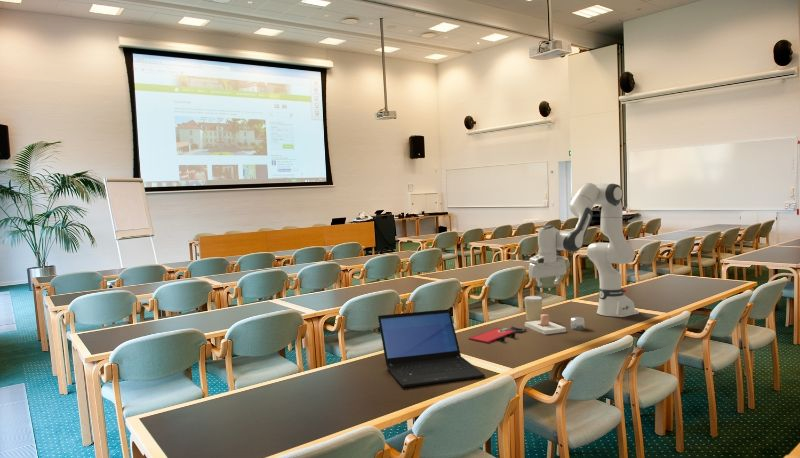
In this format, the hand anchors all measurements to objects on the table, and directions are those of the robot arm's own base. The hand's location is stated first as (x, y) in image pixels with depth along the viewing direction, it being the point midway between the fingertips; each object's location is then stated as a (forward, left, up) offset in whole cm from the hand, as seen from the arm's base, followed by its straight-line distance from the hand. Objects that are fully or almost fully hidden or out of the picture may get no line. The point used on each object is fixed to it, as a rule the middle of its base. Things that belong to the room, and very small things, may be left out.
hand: (548, 285), depth 275 cm
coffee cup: (-1, -16, -22) cm, 27 cm away
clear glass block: (-11, +8, -22) cm, 26 cm away
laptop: (+78, +32, -22) cm, 87 cm away
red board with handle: (+29, +3, -22) cm, 37 cm away
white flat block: (+4, +2, -22) cm, 22 cm away
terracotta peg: (+3, +2, -22) cm, 22 cm away
